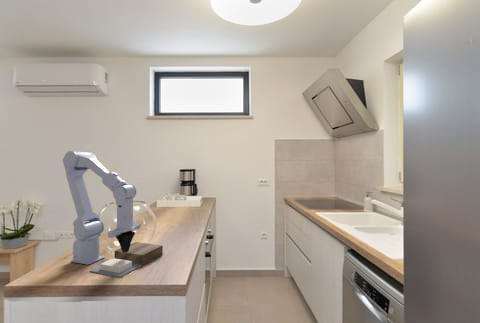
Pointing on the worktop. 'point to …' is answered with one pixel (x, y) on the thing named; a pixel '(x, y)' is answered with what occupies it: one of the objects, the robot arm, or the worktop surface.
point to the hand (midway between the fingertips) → (125, 251)
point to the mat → (97, 270)
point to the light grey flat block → (116, 265)
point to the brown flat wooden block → (140, 253)
